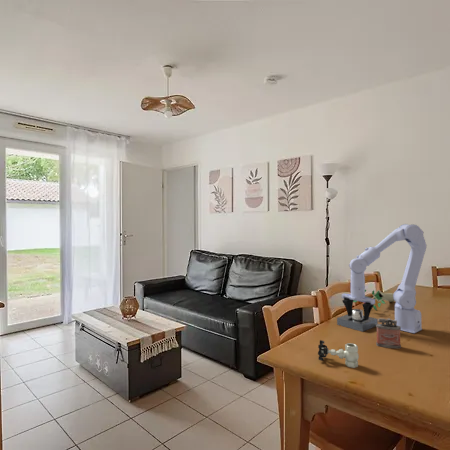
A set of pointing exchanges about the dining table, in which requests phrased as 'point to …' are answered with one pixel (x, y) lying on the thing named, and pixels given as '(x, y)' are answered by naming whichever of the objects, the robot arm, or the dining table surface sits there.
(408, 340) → the dining table surface
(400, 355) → the dining table surface
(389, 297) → the flower vase
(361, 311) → the bushing
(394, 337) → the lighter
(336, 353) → the valve
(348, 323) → the block
